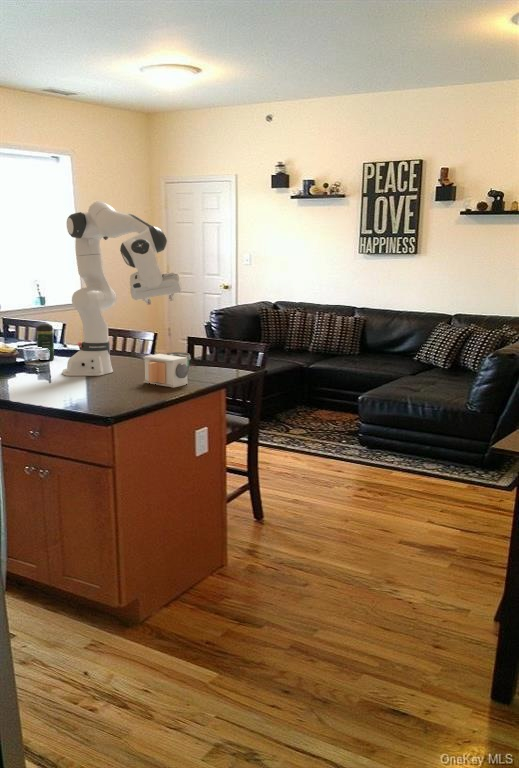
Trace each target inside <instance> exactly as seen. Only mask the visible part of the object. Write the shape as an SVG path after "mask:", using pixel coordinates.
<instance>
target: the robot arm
mask: <svg viewBox="0 0 519 768" xmlns="http://www.w3.org/2000/svg"><path fill="white" fill-rule="evenodd" d="M66 230H67V233H68V235H70V236H71V237H72V238H75V241H74V243H75V245H74V247H75V249H74V251H75V257H76V266H77V271H78V275H79V276H80V277H81V279H82V280H83V281H84V283H85V285H86V287H82V288H80V289H77V290H75V292H73V294H72V296H71V304H72V306H73V308H74V309H75V310H76V311H77V313H78V315H79V316H80V320H81V322H82V323H81V324H82V333H83V334H82V335H83V341H78V343H77V346H78V347H79V348H78V349H79V350H78V351H77V352H76V353H74V354H73V355H72V356H71V357H69V358H68V361H67V363H66V364H67V365H66V368H65V369H64V368H63V370H62V373H61V374H62V375H64V376H66V377H70V376H71V377H76V376H77V377H80V376H81V377H83V376H85V377H86V376H87V377H88V376H89V377H90V376H91V377H94V376H97V377H98V376H103V375H107V374H111V373H113V372H114V369H113V367H112V362H111V356H110V353H111V343H110V339H109V324H108V322H107V321H105V318H104V317H103V312H102V311H107V310H108V309H110V308H113V307H114V306H115V305H116V303H117V294H116V292H115V290H114V289H113V288H112V287H111V285H110V284H109V281H108V279H107V276H106V273H105V269H104V262H103V256H102V250H101V244H100V243H101V242H100V241H101V240H102V239H103V240H104V241H106V240H108V239H109V238H111V239H112V238H113V239H114V238H119V237H122V236H125V235H128V234H132V233H137V234H136V235H134V236H132V237H130V238H127V239H126V240H125V241H123V242H121V244H120V249H119V250H120V254H121V256H122V258H123V261H124V263H125V264H126V265H127V266H129V267H131V268H135V269H136V271H135V272H134V273H131V274H130V277H129V287H130V295H131V298H132V299H133V300H134V301H137V300H142V301H143V302H144V303H146V305H147V306H149V305H151V304H152V301H151V299H150V298H153V297H155V298H156V297H160V296H167V295H168V299H169V301H170V302H171V301H174V296H175V294H177V293H181V291H182V284H181V282H180V277H179V275H178V273H175V272H170V273H164V274H163V272H162V270H161V267H160V266H161V265H159V263H158V258H157V255H156V254H159V253H161V252H163V251H165V249H166V246H167V242H168V240H167V237H166V234H165V233H164V232H163V230H161V229H160V228H159V227H157V226H154V225H152V224H149V222H148V223H147V221H144V220H143V219H141V218H139V217H138V216H136V215H134V214H131V213H124V212H120V211H117V210H116V209H115V208H114V207H112V205H110V204H108V203H106V202H104V201H101V200H99V201H94V202H93V203H91V205H90V206H89V207H88V210H87V211H85V212H81V211H80V212H79V211H78V212H76V213H75V212H74V213H72V214H70V215H68V217H67V219H66Z"/></svg>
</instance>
